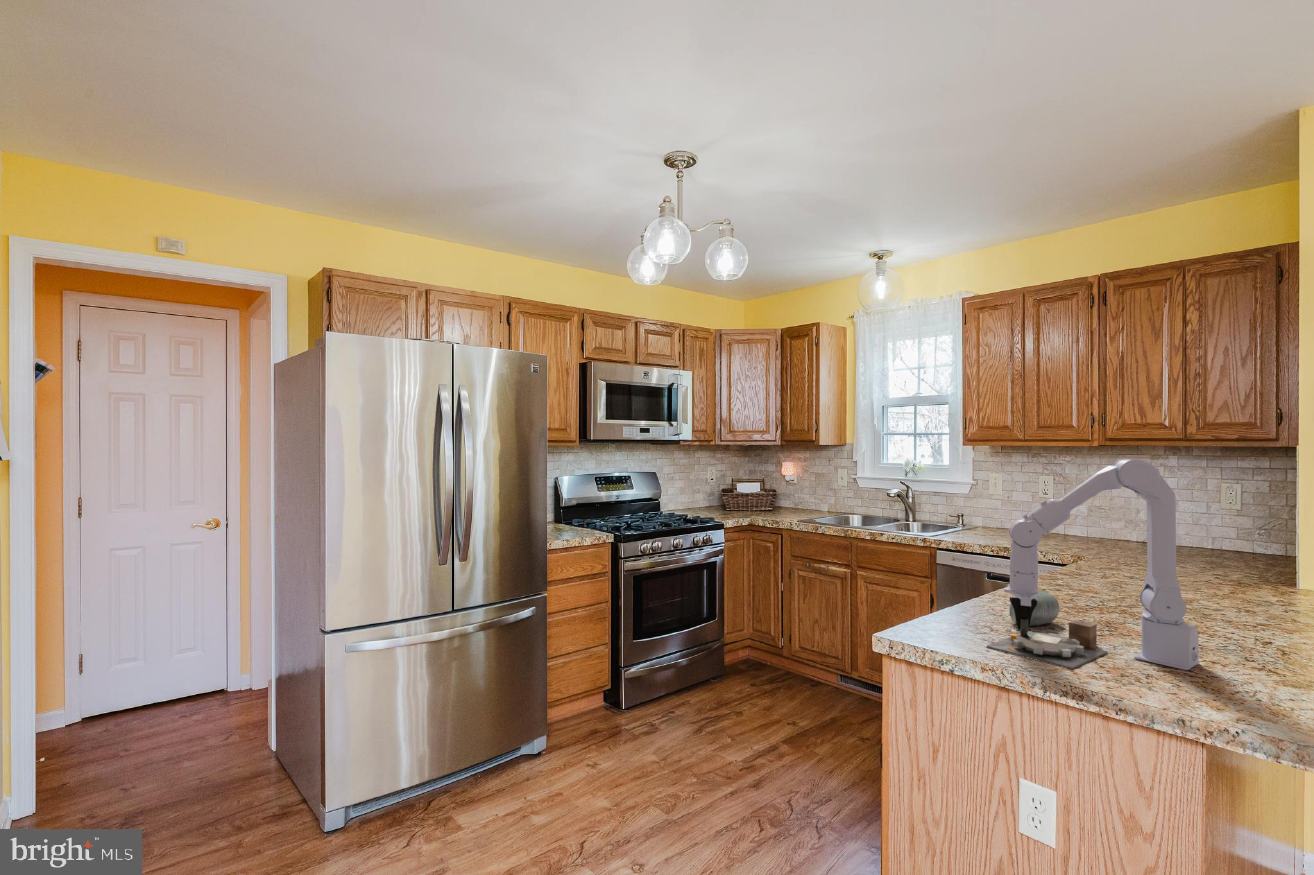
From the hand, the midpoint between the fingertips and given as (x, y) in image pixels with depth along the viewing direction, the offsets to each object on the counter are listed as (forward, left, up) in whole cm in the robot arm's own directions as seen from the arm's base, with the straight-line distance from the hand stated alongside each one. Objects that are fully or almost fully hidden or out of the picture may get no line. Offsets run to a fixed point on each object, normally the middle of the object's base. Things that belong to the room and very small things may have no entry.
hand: (1022, 629), depth 154 cm
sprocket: (-5, 0, -4) cm, 6 cm away
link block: (-8, -11, -4) cm, 14 cm away
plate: (-5, 0, -4) cm, 6 cm away
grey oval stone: (+7, -21, -4) cm, 22 cm away
